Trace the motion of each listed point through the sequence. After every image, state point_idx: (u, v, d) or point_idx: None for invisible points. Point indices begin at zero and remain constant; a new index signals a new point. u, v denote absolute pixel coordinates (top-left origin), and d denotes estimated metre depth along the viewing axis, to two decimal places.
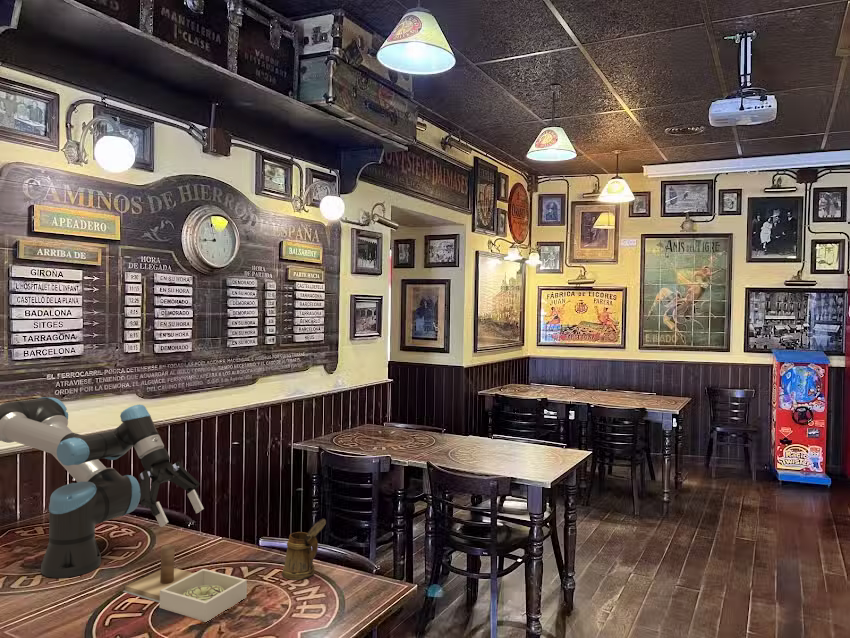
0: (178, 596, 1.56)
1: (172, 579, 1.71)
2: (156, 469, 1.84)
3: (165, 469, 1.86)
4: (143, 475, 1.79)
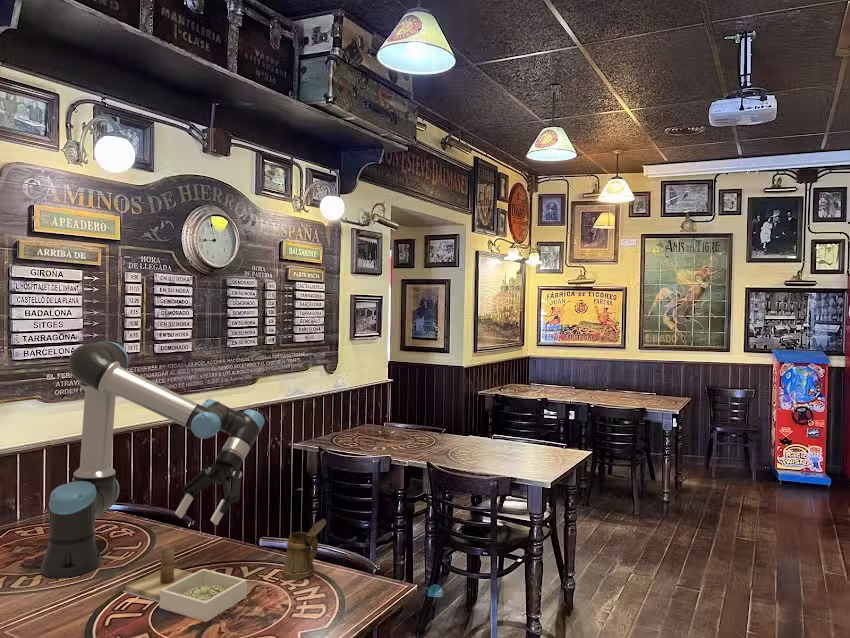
0: (178, 596, 1.56)
1: (172, 579, 1.71)
2: None
3: None
4: (241, 476, 1.87)
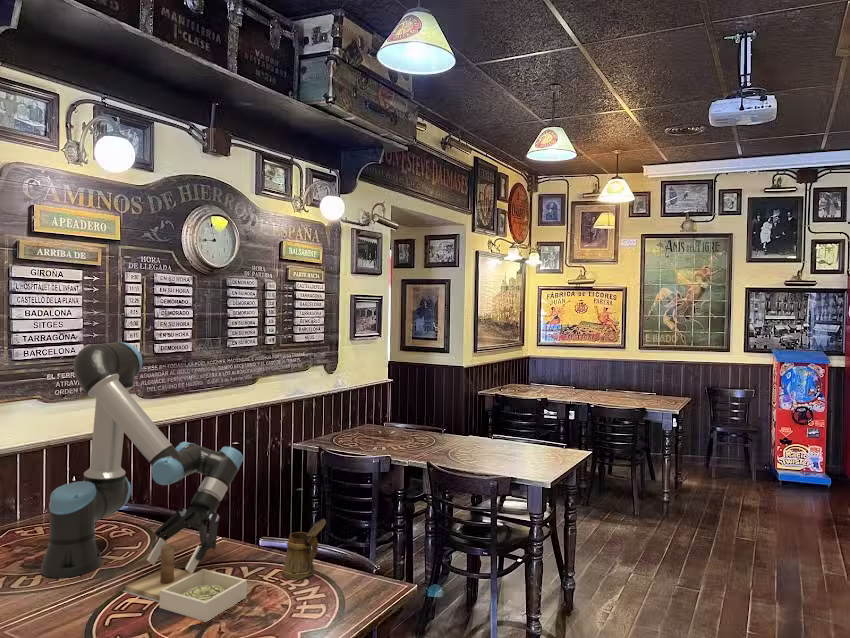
0: (178, 596, 1.56)
1: (172, 579, 1.71)
2: None
3: None
4: (218, 519, 1.78)
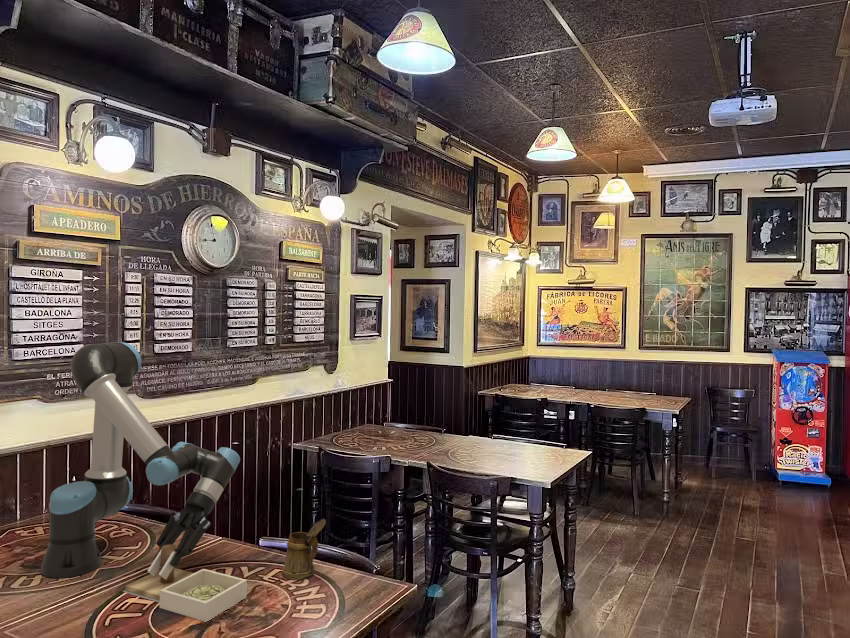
0: (178, 596, 1.56)
1: (172, 579, 1.71)
2: None
3: None
4: (207, 527, 1.75)
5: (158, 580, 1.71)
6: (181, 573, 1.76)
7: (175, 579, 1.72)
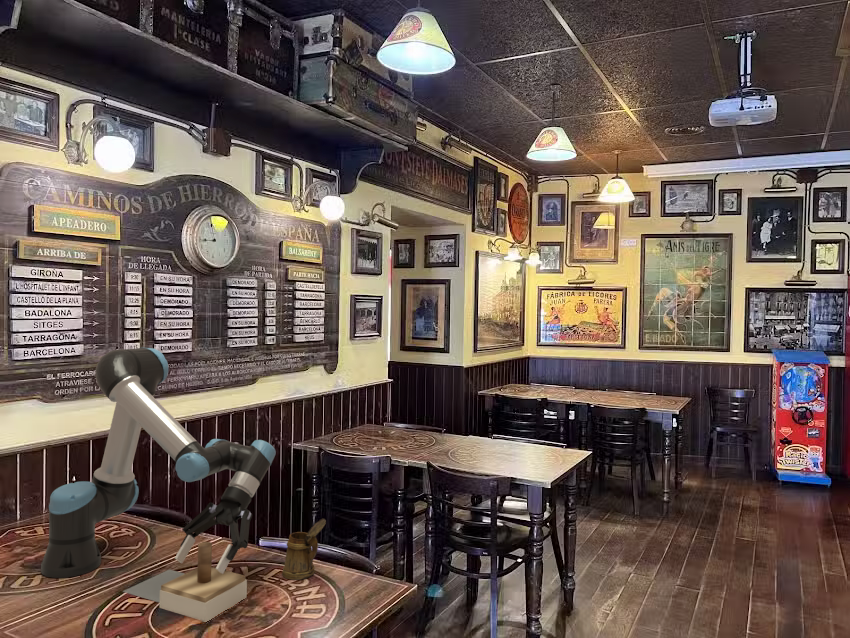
0: (178, 596, 1.56)
1: (209, 578, 1.62)
2: None
3: None
4: (250, 517, 1.68)
5: (195, 579, 1.63)
6: (218, 572, 1.67)
7: (212, 578, 1.63)
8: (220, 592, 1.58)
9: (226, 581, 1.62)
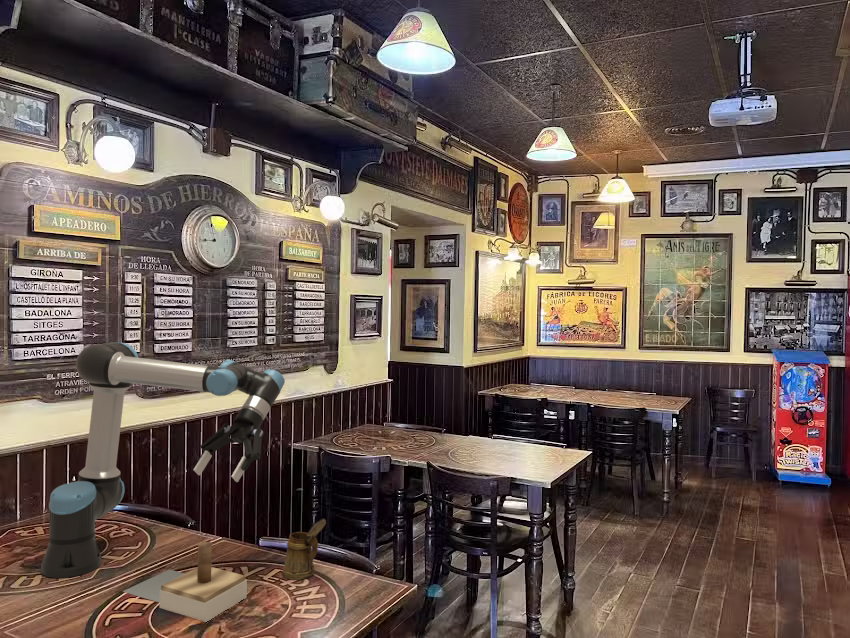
0: (178, 596, 1.56)
1: (209, 578, 1.62)
2: None
3: None
4: (262, 434, 1.83)
5: (195, 579, 1.63)
6: (218, 572, 1.67)
7: (212, 578, 1.63)
8: (220, 592, 1.58)
9: (226, 581, 1.62)
